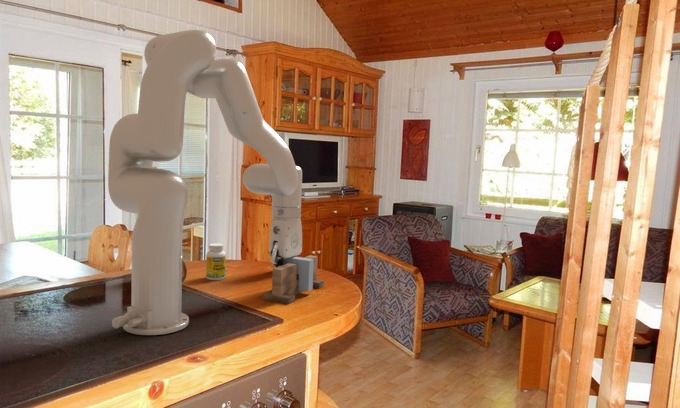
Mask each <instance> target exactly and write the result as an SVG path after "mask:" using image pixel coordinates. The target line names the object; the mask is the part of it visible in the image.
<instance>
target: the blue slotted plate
mask: <svg viewBox="0 0 680 408" xmlns="http://www.w3.org/2000/svg"><path fill="white" fill-rule="evenodd" d="M279 256H280V255H279ZM280 257H281V256H280ZM281 261H282V260H281ZM287 263H293V264H297V275H299V285H298V290H301V291H303V292H310V291H312V290H313V288H314V287H313V267H314V259H309V258H304V257H301V256H296V257H291V258H288V259H286V264H287ZM313 291H314V290H313Z"/></svg>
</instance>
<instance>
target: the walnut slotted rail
mask: <svg viewBox="0 0 680 408" xmlns="http://www.w3.org/2000/svg"><path fill="white" fill-rule="evenodd" d="M318 257H319V256H318V255H309V254H308V255H307V256H305V257H303V258H309V259H314V267H313V288H314V289H315V288H316V289H321V288H323V287H324V286H325V280H324V279H323V280H322V279H318ZM271 276H272V278H271V279H272V281H271V290H269V291H266V292H264V293H263V300H264V301H271V302H274V303H281V304H286V305H290V304H291V303H294V302H295V301H296V299H295V298H296V295H298V294H300V293H303V292H304V291H301V290H298V285H299V275H297V264H293V263H287V264H284V265H282V266H279V267H276V268H274V267H272V275H271Z"/></svg>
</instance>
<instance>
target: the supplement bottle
mask: <svg viewBox="0 0 680 408" xmlns="http://www.w3.org/2000/svg"><path fill="white" fill-rule="evenodd" d="M224 247H225V246H224V244H223V243H218V242H217V243H209V244H208V250H209V251H207V252H206V258H205V260H206V262H205V269H206V270H205V278H206V280H210V281H221V280H224V279H226V267H227V266H226V263H227V261H226V260H227V258H226V257H227V255H226V252H225V251H224Z"/></svg>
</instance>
